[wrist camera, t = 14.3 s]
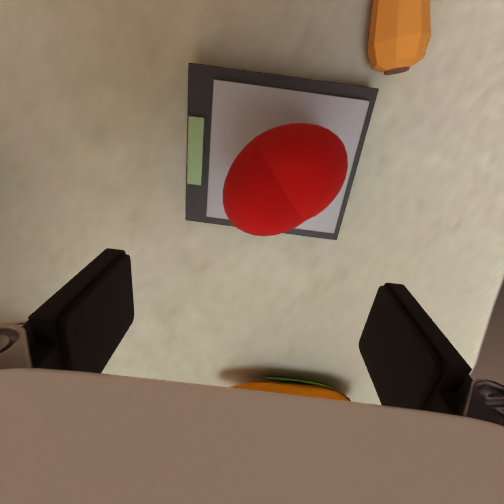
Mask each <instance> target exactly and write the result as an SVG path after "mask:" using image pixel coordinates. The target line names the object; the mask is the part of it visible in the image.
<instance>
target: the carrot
mask: <svg viewBox="0 0 504 504" xmlns="http://www.w3.org/2000/svg"><path fill="white" fill-rule="evenodd" d="M430 36H431V27H430V0H373V7H372V15H371V24H370V33H369V41H368V50H367V51H368V55H369V60H370V64H371V69H374V70H377V71H381V72H384V75H391V74H397V73H401V72H405V71H407V70H409V67H410V66H412V65H414V64H415V63H417V62H418V61H420V60H421V59H423V58H424V56H425V52H426V49H427V46H428V43H429V39H430Z"/></svg>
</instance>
